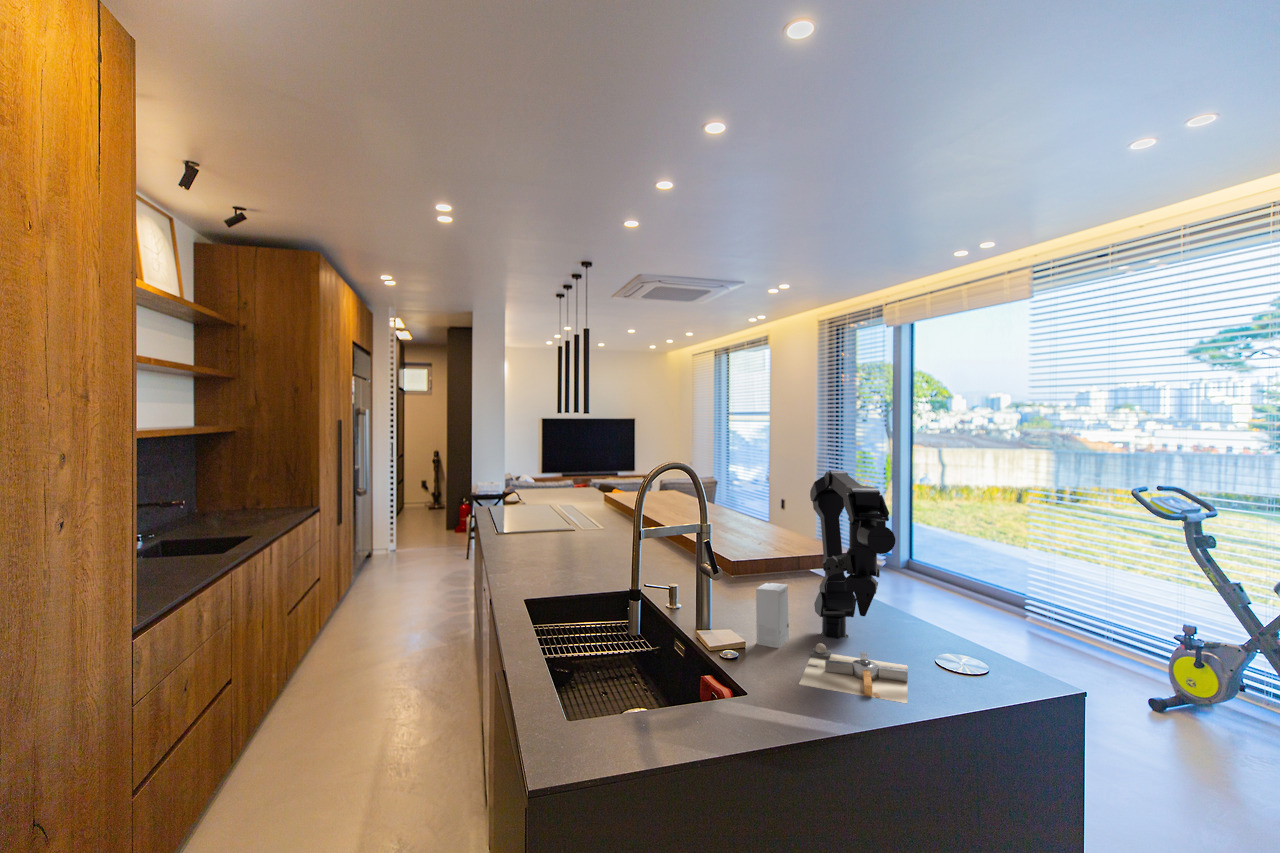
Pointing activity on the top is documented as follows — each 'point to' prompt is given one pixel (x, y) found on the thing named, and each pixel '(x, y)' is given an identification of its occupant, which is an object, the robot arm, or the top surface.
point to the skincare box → (772, 614)
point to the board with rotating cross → (850, 677)
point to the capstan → (866, 671)
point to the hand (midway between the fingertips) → (862, 615)
